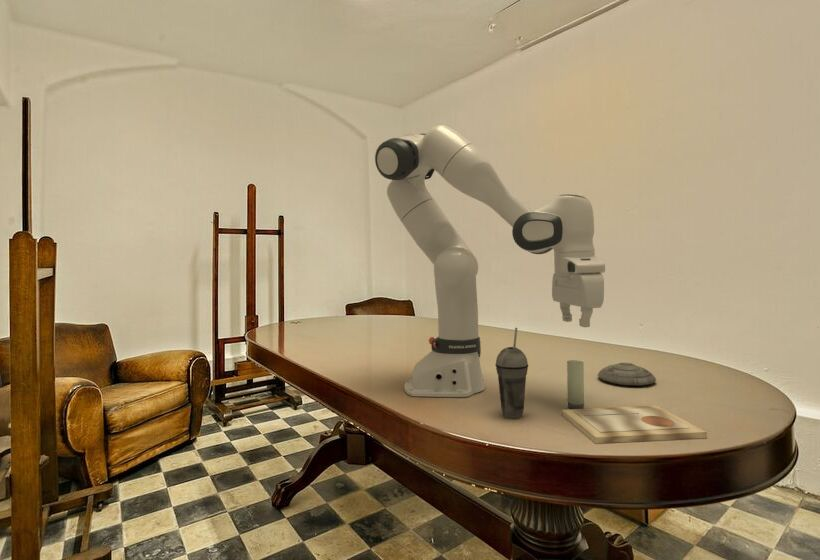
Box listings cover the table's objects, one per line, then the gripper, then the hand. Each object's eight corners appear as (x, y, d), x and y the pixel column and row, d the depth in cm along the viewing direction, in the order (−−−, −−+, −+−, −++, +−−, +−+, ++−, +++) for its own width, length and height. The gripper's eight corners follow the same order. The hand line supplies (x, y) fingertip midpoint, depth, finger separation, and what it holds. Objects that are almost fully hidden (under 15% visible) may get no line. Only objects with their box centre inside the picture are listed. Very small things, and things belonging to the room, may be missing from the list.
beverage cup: (492, 411, 104) (490, 326, 103) (522, 409, 105) (521, 325, 104) (501, 422, 97) (499, 330, 96) (534, 420, 97) (532, 329, 97)
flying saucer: (605, 388, 121) (605, 368, 121) (592, 374, 136) (591, 357, 135) (665, 389, 118) (665, 369, 118) (644, 375, 133) (644, 357, 133)
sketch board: (595, 443, 84) (595, 435, 84) (561, 415, 100) (561, 408, 100) (706, 438, 86) (706, 430, 86) (655, 410, 102) (655, 404, 102)
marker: (571, 411, 103) (571, 363, 102) (565, 406, 106) (564, 360, 106) (586, 410, 103) (586, 363, 103) (579, 405, 107) (579, 360, 106)
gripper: (544, 265, 114) (546, 319, 114) (580, 265, 93) (581, 331, 94) (569, 264, 114) (570, 318, 114) (609, 264, 94) (610, 329, 94)
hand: (575, 324), depth 104 cm, fingers open, 8 cm apart
